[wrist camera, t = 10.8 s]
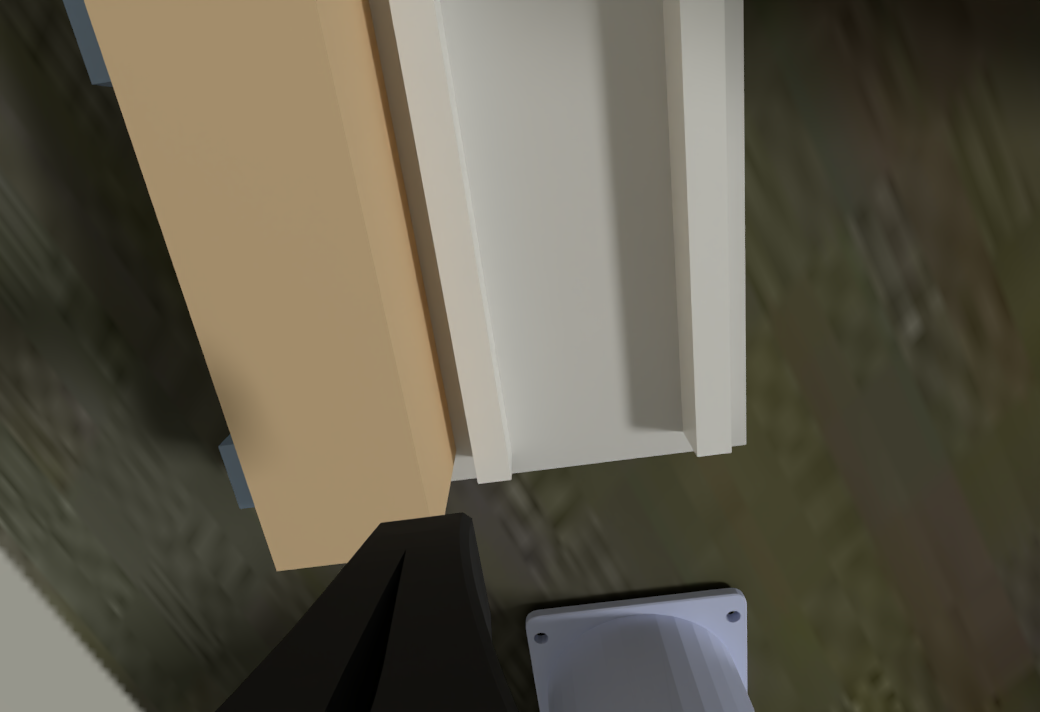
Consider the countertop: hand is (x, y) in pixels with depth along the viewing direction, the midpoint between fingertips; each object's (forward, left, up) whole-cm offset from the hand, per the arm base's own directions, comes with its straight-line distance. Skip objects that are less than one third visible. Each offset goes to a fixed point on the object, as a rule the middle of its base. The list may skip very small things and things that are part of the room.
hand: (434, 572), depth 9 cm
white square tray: (+4, 0, -10) cm, 11 cm away
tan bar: (+4, +3, -10) cm, 11 cm away
